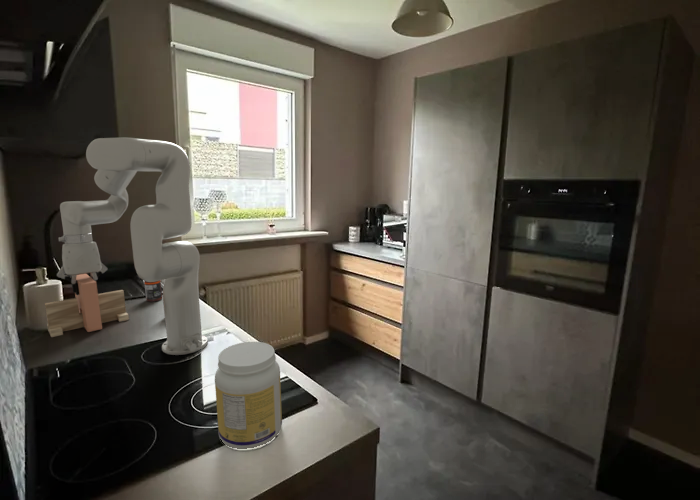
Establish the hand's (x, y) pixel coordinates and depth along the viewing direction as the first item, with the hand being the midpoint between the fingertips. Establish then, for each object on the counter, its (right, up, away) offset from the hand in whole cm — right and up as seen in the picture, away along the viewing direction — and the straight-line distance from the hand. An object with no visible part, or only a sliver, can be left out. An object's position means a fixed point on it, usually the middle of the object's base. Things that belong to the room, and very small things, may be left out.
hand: (85, 292), depth 128 cm
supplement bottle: (+8, -7, +29) cm, 31 cm away
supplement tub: (+70, -22, -53) cm, 90 cm away
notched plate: (0, -11, +2) cm, 11 cm away
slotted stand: (0, -11, +2) cm, 12 cm away
